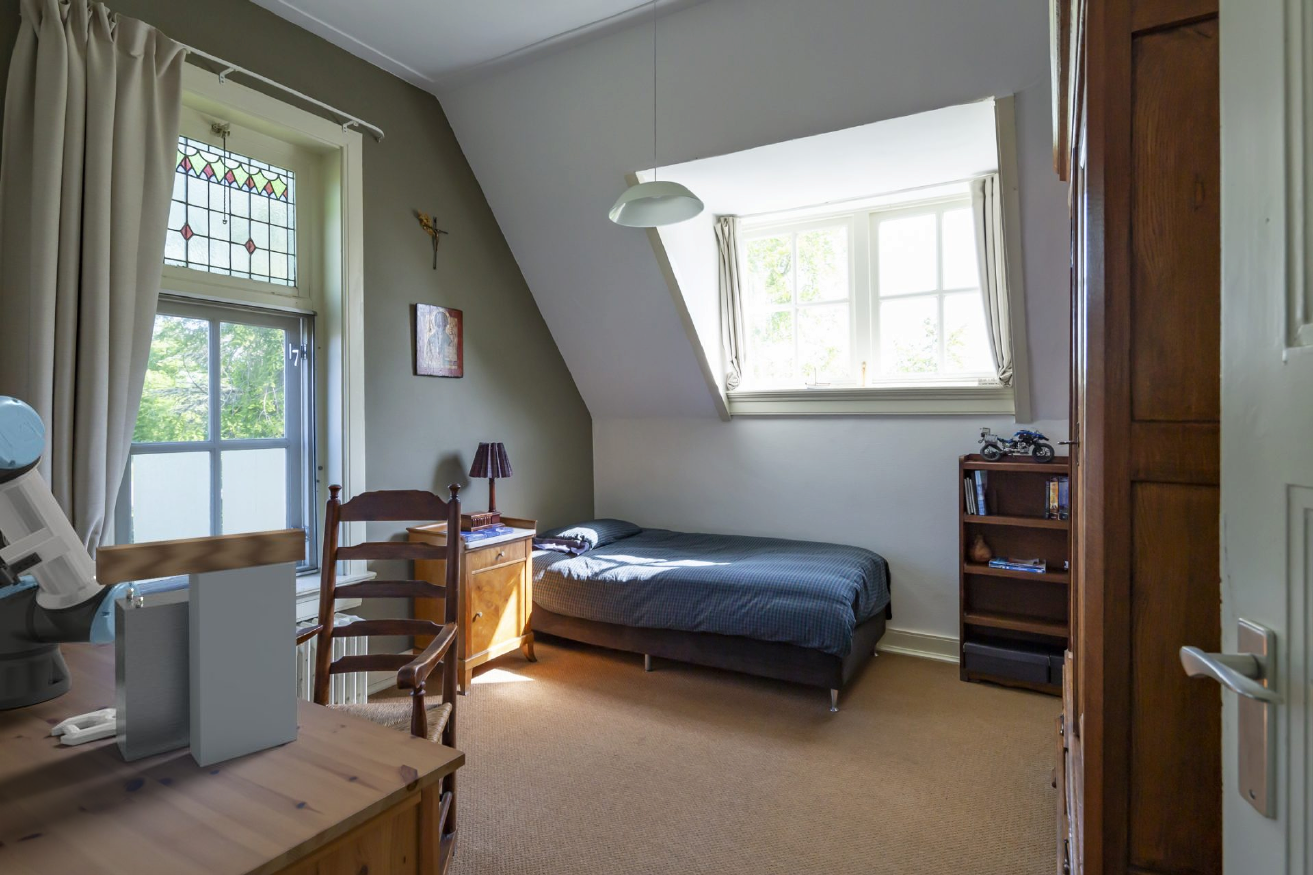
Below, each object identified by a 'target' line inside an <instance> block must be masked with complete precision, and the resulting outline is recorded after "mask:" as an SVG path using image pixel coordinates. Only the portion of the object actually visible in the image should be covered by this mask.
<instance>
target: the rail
mask: <svg viewBox="0 0 1313 875" xmlns="http://www.w3.org/2000/svg"><path fill="white" fill-rule="evenodd" d="M305 560H306V530H305V529H300V528H298V527H297V528H285V529H274V530H263V531H253V532H252V531H251V532H242V533H233V534H221V535H211V536H201V537H189V538H178V539H177V538H176V539H168V540H156V541H148V542H136V543H126V544H116V545H114V544H113V545H105V546H104V545H103V546H95V563H96V582H97V583H98V584H99V585H107V584H115V583H123V582H131V583H132V582H137V581H147V580H153V579H162V578H170V577H180V576H186V575H189V574H195V573H203V572H212V571H220V570H228V569H236V568H244V567H252V566H260V565H268V564H276V563H284V562H292V561H293V562H299V561H305Z"/></svg>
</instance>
